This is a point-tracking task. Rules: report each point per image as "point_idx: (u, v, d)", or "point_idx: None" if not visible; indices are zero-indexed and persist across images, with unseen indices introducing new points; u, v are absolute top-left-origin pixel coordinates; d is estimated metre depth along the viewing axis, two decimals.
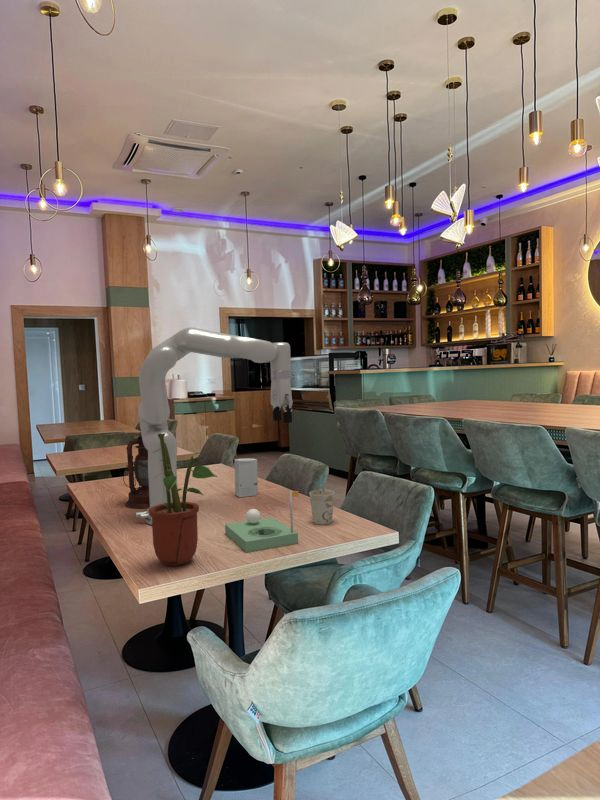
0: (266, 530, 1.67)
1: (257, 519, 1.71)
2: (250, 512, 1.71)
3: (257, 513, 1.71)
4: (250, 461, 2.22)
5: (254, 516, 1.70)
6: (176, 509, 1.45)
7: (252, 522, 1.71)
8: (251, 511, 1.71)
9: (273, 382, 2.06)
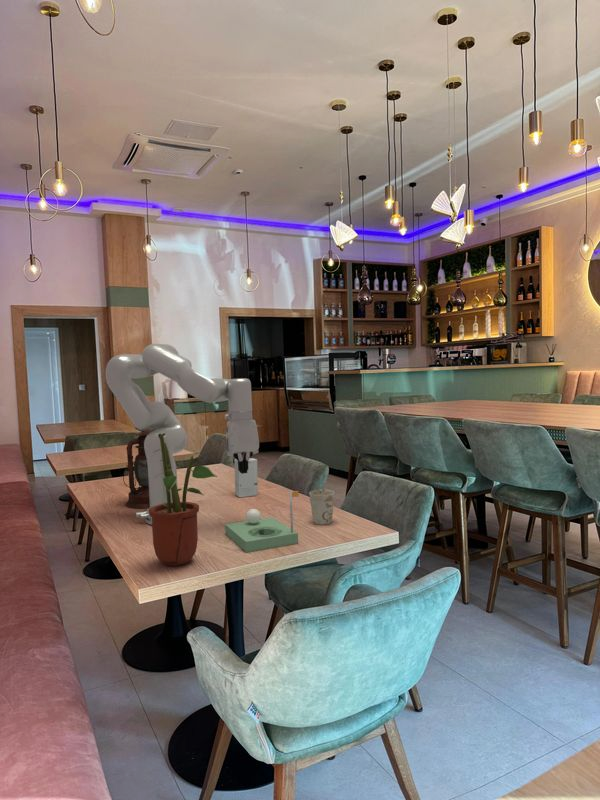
0: (266, 530, 1.67)
1: (257, 519, 1.71)
2: (250, 512, 1.71)
3: (257, 513, 1.71)
4: (250, 461, 2.22)
5: (254, 516, 1.70)
6: (176, 509, 1.45)
7: (252, 522, 1.71)
8: (251, 511, 1.71)
9: (240, 424, 1.76)
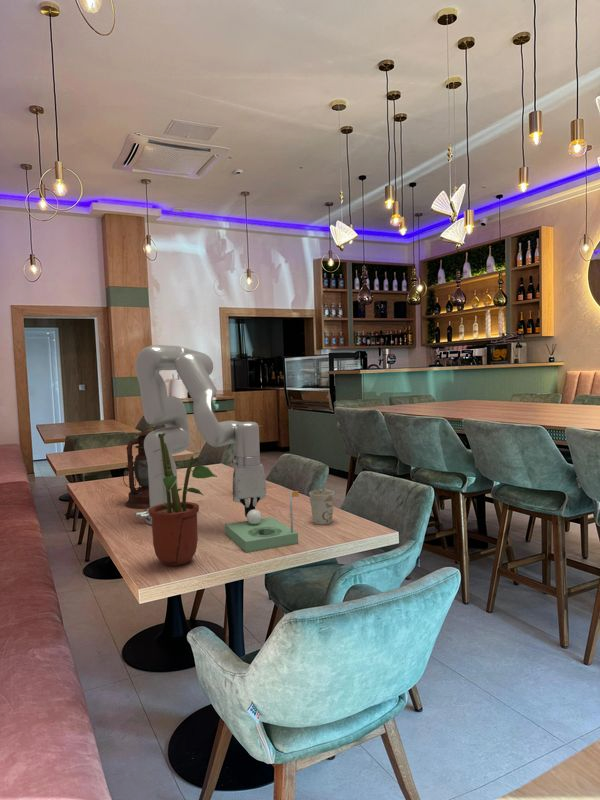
0: (266, 530, 1.67)
1: (258, 521, 1.70)
2: (251, 514, 1.70)
3: (258, 515, 1.70)
4: None
5: (255, 518, 1.70)
6: (176, 509, 1.45)
7: (252, 523, 1.71)
8: (252, 513, 1.70)
9: (248, 470, 1.72)
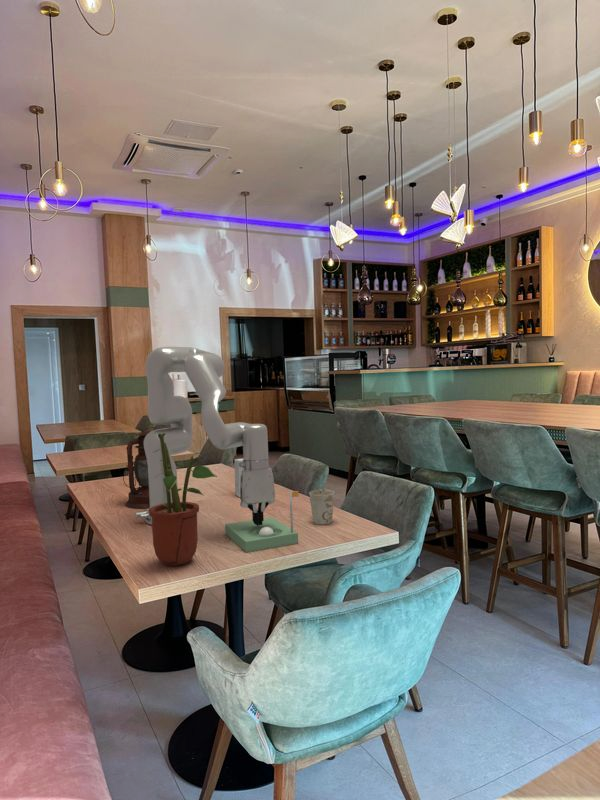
0: None
1: (268, 529, 1.62)
2: (260, 530, 1.63)
3: None
4: None
5: (264, 528, 1.62)
6: (176, 509, 1.45)
7: None
8: None
9: (256, 474, 1.65)
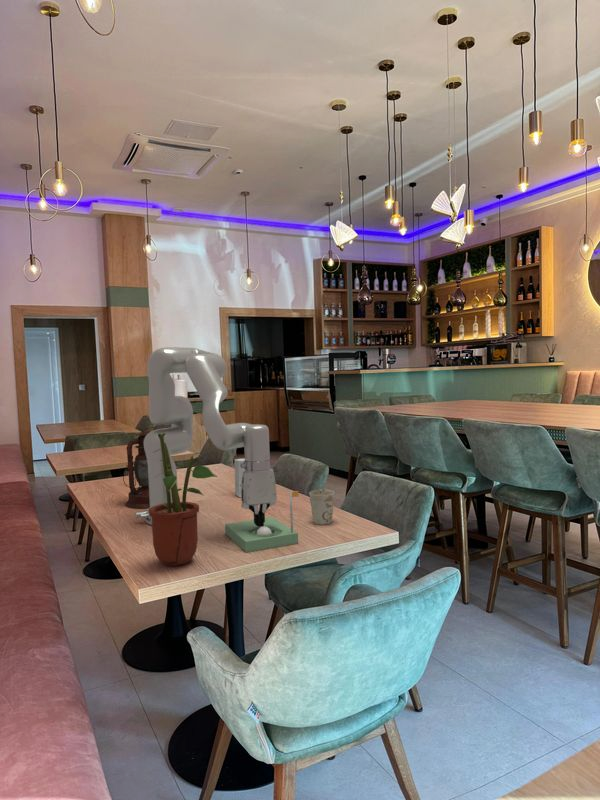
0: None
1: (264, 528, 1.63)
2: None
3: None
4: None
5: (260, 528, 1.63)
6: (176, 509, 1.45)
7: (262, 533, 1.62)
8: None
9: (257, 475, 1.64)
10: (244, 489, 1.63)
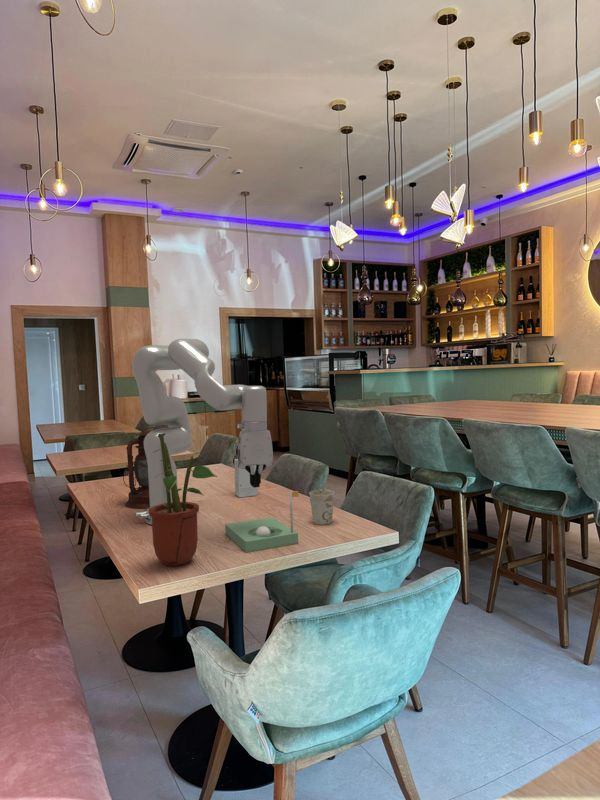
0: None
1: (262, 527, 1.63)
2: None
3: None
4: None
5: (258, 528, 1.64)
6: (176, 509, 1.45)
7: (260, 532, 1.62)
8: None
9: (254, 435, 1.64)
10: (241, 449, 1.64)
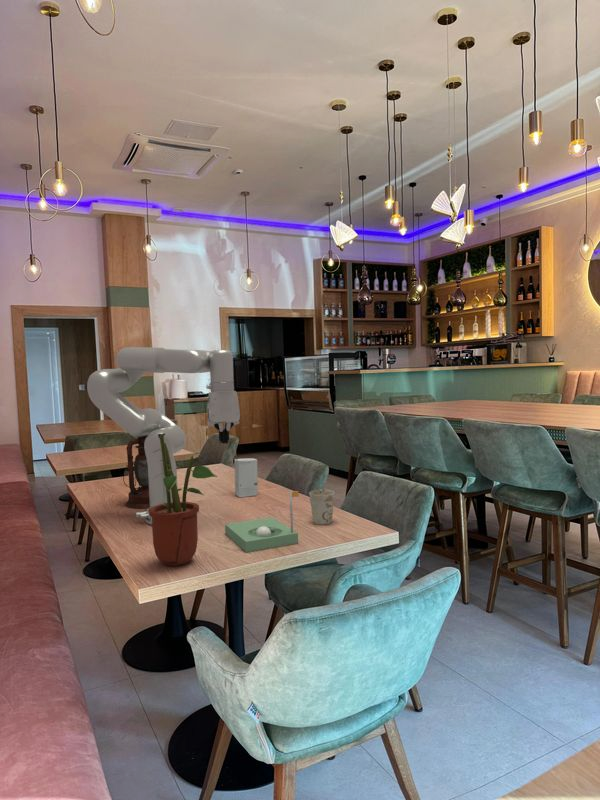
0: None
1: (263, 527, 1.63)
2: None
3: None
4: (250, 461, 2.22)
5: (258, 528, 1.64)
6: (176, 509, 1.45)
7: (261, 532, 1.62)
8: None
9: (221, 395, 1.79)
10: (209, 407, 1.79)
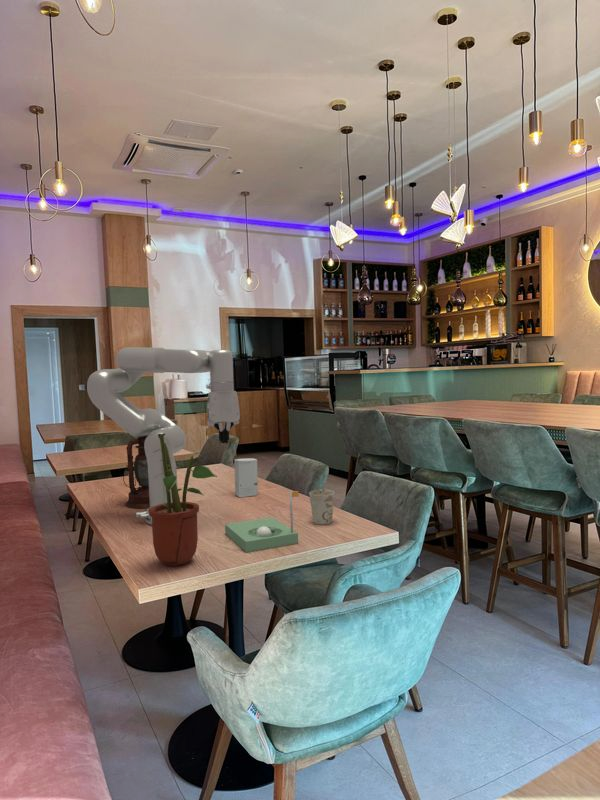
0: None
1: (263, 527, 1.63)
2: None
3: None
4: (250, 461, 2.22)
5: (259, 528, 1.63)
6: (176, 509, 1.45)
7: (261, 532, 1.62)
8: None
9: (221, 395, 1.79)
10: (209, 407, 1.79)
